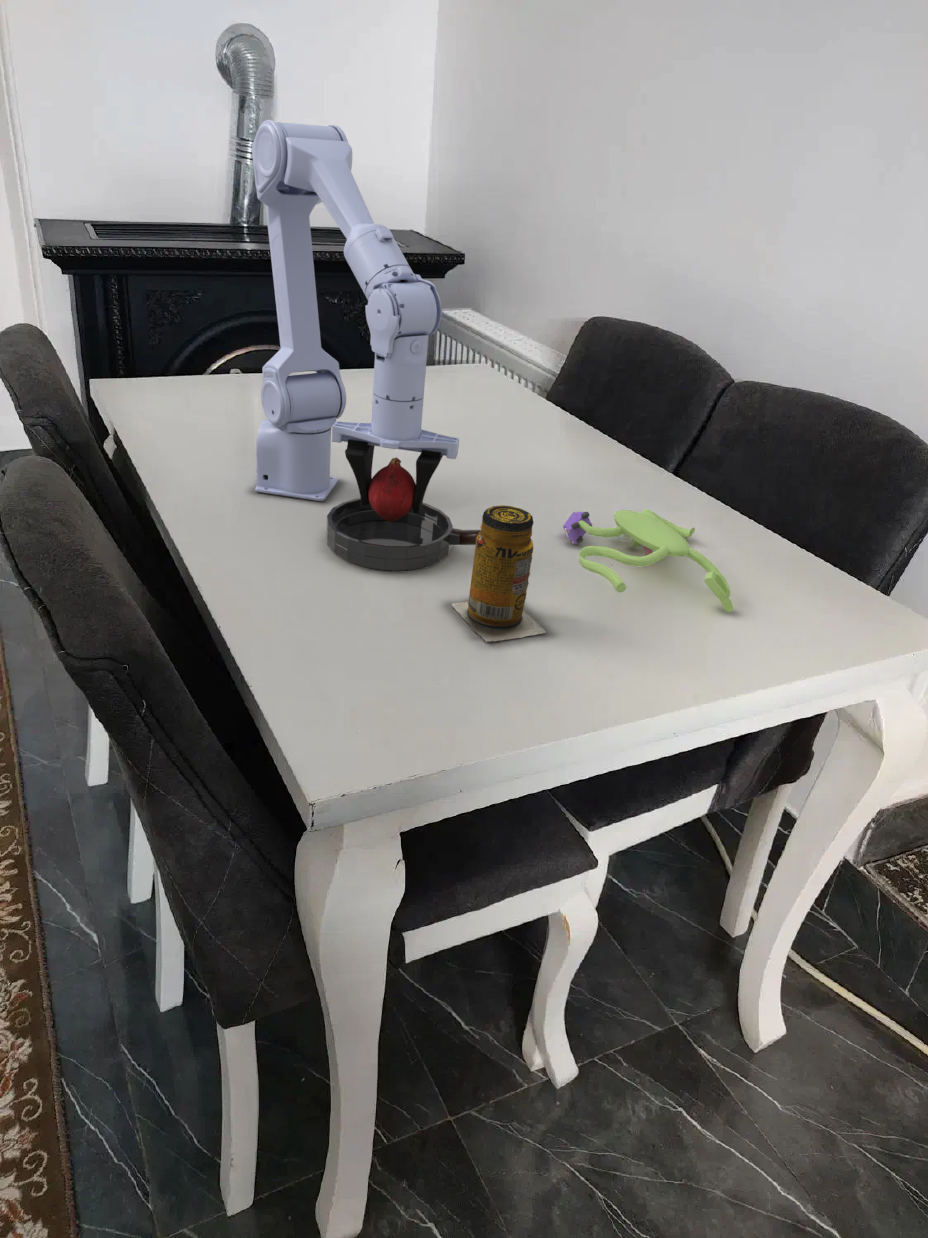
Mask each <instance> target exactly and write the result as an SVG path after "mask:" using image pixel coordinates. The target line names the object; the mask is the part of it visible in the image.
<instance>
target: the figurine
mask: <svg viewBox="0 0 928 1238" xmlns="http://www.w3.org/2000/svg"><path fill="white" fill-rule="evenodd" d="M590 516H591V515H590V512H589V511H576V512H575V511H573V512H572V513H571V514H570V515H569V517H568V518H567V520H566V521H565V522H564V524H563V525H562V528H563V530H564V533H565V536H566V537H567V539H569V542H570V543H571V545H577V544H579V543H581V542H583V541H584V536H585V535H586V534H587V535H588V534H589V535H590V536H594V537H600V538H616V537H617V539H619V540H622V541H626V540H628V539H629V538H630V539H631V542H632V543H631V544H632V545H631V546H632V550H635V549H636V548H638V546H642V547H643V549H644V552H645V555H643V556H638V555H637V556H636V555H630V554H626V553H624V552H621V551H619V550H617V549H615V548H612V547H607V546H600V545H589V546H588V545H587V546H584V547H582V548H581V549H580V551H579V553H578V562H579V565H580V566H581V567H582V568H583V569H585V570H587V571H589V572H592V573H594V574H597V575H600V576H601V577H603V578H605V579H606V580H607V581H609V582H610V584H611V585H612V586H613V588H614V589H615V591H616V592H618V593H624V592H625V591H626V589H627V585H626V583H625V582H624V580H623V579H622V578H621V577H620V575H619V574H618V573H617V572H615V571H614V570H613V569H611V568H610V567H608V566H606V565H604V564H602V563H599V562H595V561H593V560H590V559H586V558H588V557H592V556H593V557H603V558H609V559H612V560H614V561H617V562H619V563H622V564H624V565H626V566H632V567H647V566H651V565H653V564H656V563H657V562H659V561H661V560H662V559H665V558H666V557H667V556H670V557H687V558H688V559H690V560H692V561H694V562H695V563H697V564H698V565H699V566H700V567H701V568H702V569H704V571H705V572H706V573H705V577H704V583H705V585H706V587H708V589H709V590H710V591H711V592H712V593H713V594H714V595H715V596H716V597H717V598H718V600H719V602H721V606H722V608H723V610H724V611H725V612H727V613H732V612H733V611H734V606H733V602H732V600H731V598H730V596H731V595H732V594H731V588H730V585H729V584H728V581H727V579H726V577H725V576H724V575H723V574H722V572H721V571H720V570H719V569H718V568H717V567H716V566H715V564H713V562H712V561H710V559H708V558H707V557H706V556H705V555H703V553H700V552H699V551H698V550H696V549H694V548H691V547H690V545H689V543H688V541H687V540H686V539H687V538H688V539H689V538H691V537H692V536H693V535H694V533H695V531H696V528H695V527H691V528H690V529H688V528H685V527H683V526H679V525H677V524H675V523H673V522H672V521H669V520H668V519H666V518H663V517H661V516H660V515H658V514H657V513H656V512H653V511H652V510H650V509H648V508H644V509H642V510H641V512H639V511H635V510H631V509H622V510H618V511H616V512H615V513H614V514H613V518H614V521H615V525H616V527H596V526H593V523H592V521H591V520H590ZM685 538H686V539H685Z"/></svg>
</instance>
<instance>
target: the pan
mask: <svg viewBox="0 0 928 1238" xmlns="http://www.w3.org/2000/svg"><path fill="white" fill-rule="evenodd" d="M452 528H454V525H453V523H452V520H451V518H450V516H448V515H447V514H446V513H445V512H444V511H442V510H441V509H438V508H437V507H435V506H433V505H430V504H428V503H425V502H423V503H422V508H421V510H420V512H419V513H413V507H412V509H411V510H410V511H409V512H408V513H407V514H406V515H404V516H402V517H401V518H399V519H397V520H396V521H394V522H388V521H387V520H385V519H384V518H382V517H381V516H379V515H378V514H377V513H376V512H375V511H374V509H373V508H372V507H371V505H370V502H369V503H368V505H367V506H364V505H361V497H357V498H354V499H350V500H346V501H342V502H341V503H339V504H337V505H335V506H334V507H332V508H331V509H330V511H329V512H328V514H327V515H326V544H327V547H328V548H329V549H330V550H331V551H332V552H333V554H334V555H336V556H338V557H339V558H341V559H342V560H343V561H345V562H347V563H349V564H351V565H354V566H356V567H360V568H363V569H366V570H367V569H368V570H372V571H378V572H386V573H388V572H389V573H404V572H413V571H418V570H423V569H426V568H429V567H432V566H434V565H436V564H438V563H440V562H441V561H443V560H444V559H445V558H447V557H448V555H449V553H450V550H451V548H452V545H450V544H449V541H450V534H451V531H452Z"/></svg>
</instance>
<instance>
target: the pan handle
mask: <svg viewBox="0 0 928 1238" xmlns="http://www.w3.org/2000/svg"><path fill="white" fill-rule="evenodd" d="M480 532H481V529H462V528H461V529H459V528H454V527H453V528H452V531H451V534H450V541H449V544H450V545H451V546H475V545H476V538H477V535H478V534H479V533H480Z"/></svg>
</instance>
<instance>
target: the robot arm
mask: <svg viewBox="0 0 928 1238" xmlns="http://www.w3.org/2000/svg"><path fill="white" fill-rule="evenodd" d="M251 155H252V166H253V174H254V183H255V189H256V197H257V199H258V201H260V202H261V203H263V204H264V205H265V213H266V223H267V233H268V241H269V251H270V260H271V270H272V281H273V289H274V297H275V308H276V318H277V326H278V336H279V337H278V338H279V345H280V348H279V350H278V351H277V352H276V353H275V354H274V355H273V356H272V357H271V358H270V359H269V360H268V361H267V362H266V363H265V364H263V366H262V369H261V370H262V386H261V391H260V401H261V402H260V403H261V407H262V410H263V413H264V415H265V417H266V418H267V419H264V420H263V421H262V422H261V423H260V425H259V428H258V431H257V437H256V445H255V449H256V450H255V451H256V452H255V453H256V454H255V455H256V457H255V458H256V486H255V487H254V491H255V492H258V493H263V494H270V495H276V496H283V497H291V498H298V499H304V500H311V501H317V502H324V501H325V500H326V499H327V498H328V496H329V495H330V493H331V492H332V491H333V489H334V488H335V487H336V485H337V484H338V483H339V478H338V477H335V476H334V477H333V476H330V475H331V450H332V449H331V446H332V443H339V444H340V443H342V442H343V443H345V442H346V443H347V446H346V449H345V450H344V453H345V459H346V461H347V462H348V464H349V466H350V469H351V470H352V472H353V475H354V477H355V481H356V484H357V487H358V492H359V498H361V505H364V506H367V505H368V503H369V496H368V488H369V484H370V481H371V479H372V478H373V476H372V475H373V474H372V473H373V471H372V470H373V462H374V453H375V447H380V448H384V449H389V450H401V451H409V452H416V453H420V454H419V455H418V457H417V458H416V461H415V484H416V490H415V497H414V504H413V513H419V512H420V510H421V508H422V503H424V498H425V495H426V493H427V489H428V486H429V484H430V481H431V479H432V477H433V475H434V474H435V472H436V470H437V469H438V467H439V465H440V463H441V460H442V458H443V457H446V458H447V459H450V460H456V459H457V457H458V454H459V446H460V437H454V436H447V435H444V434H441V433H437V432H433V431H429V430H426V429H422V425H423V411H424V410H423V409H424V398H425V384H426V372H427V362H428V361H427V360H428V348H429V337H430V336H433V335H434V334H435V333H436V332H437V331H438V329H439V327H440V326H441V322H442V316H443V306H442V300H441V297H440V295H439V292H438V290H437V286H436V285H435V284H434V283H433V282H432V281H430V280H428V279H423V278H422V277H421V274H417V273H414V271H413V270H412V268H411V266H410V265H409V262H408V261H407V259H406V257H405V255H404V253H403V252H402V250H401V248H400V247H399V244H398V243H397V241H396V239H395V238H394V237H395V236H394V234H393V233H392V231H391V229H390V228H388V227H387V226H385V225H384V224H383V225H382V224H380V223H375V222H374V220H373V218H372V216H371V215H372V214H371V213H370V211H369V209H368V207H367V204H366V201H365V200H364V198H363V195H362V193H361V190H360V189H359V186H358V184H357V182H356V179H355V177H354V175H353V173H352V167H353V148H352V146H351V145H350V143H349V140H348V138H347V135H346V134H345V131H344V130H343V129H342V128H341V127H340V126H338V125H335V124H329V125H317V124H305V123H296V122H295V123H294V122H293V123H292V122H281V121H275V120H273V119H266V120H264V121H262V123H261V124H260V126H259V127H258V129H257V132H256V134H255V136H254V139H253V142H252V145H251ZM321 203H322V204H323V205H324V207H325V209H326V210H327V212H328V213H329V214H330V216H331V218H332V219H333V221H334V222H335V223H336V225H337V226H338V228H339V230H340V231H341V232H342V234H343V236H344V237H345V239H346V241H345V244H344V247H343V256H344V258H345V261H346V263H347V264H348V266H349V268H350V270H351V272H352V273H353V275H354V277H355V279H356V281H357V283H358V284H359V286H360V288H361V289H362V293H363V294H364V296H365V298H366V300H367V304H366V305H365V319H366V323H367V326H368V328H369V329H368V330H369V332H370V334H369V335H370V342H369V345H370V346H371V351H372V352H373V353H374V365H373V385H372V402H371V403H372V404H371V405H372V407H371V422H354V421H353V422H351V421H340V420H337V419H339V418H341V417H342V415H343V414H344V413H345V409H346V405H347V391H346V387H345V384H344V382H343V380H342V376H341V371H340V363H339V361H338V360H337V359H335V358H334V357H332V355H330V354H329V353H328V352H326V351H325V350H324V348H322V341H321V340H322V339H321V329H320V319H319V317H320V316H319V309H318V298H317V287H316V275H315V264H314V252H313V243H312V231H311V221H310V220H311V219H310V215H311V213H312V212H313V210H314V209H315V207H316V205H319V204H321ZM311 371H314V372H312V373H304V374H294V373H302V372H311ZM292 374H293V375H292Z"/></svg>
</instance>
